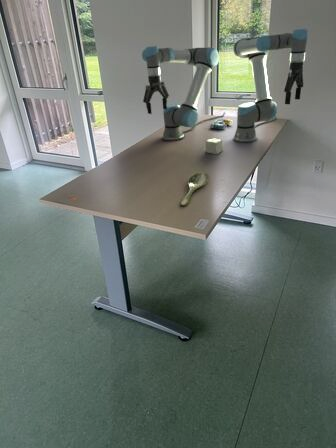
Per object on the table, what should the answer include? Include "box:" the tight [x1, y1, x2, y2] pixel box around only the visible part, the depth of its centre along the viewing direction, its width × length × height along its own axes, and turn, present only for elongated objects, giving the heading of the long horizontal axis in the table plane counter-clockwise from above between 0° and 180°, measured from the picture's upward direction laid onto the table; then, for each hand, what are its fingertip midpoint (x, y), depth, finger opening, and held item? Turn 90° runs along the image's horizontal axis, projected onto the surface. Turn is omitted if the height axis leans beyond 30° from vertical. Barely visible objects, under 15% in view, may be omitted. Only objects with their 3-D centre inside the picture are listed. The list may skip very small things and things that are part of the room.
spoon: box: [180, 171, 210, 207], centre depth 170 cm, size 35×11×2 cm, turn 159°
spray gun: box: [210, 117, 234, 130], centre depth 264 cm, size 21×4×15 cm
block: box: [205, 137, 223, 155], centre depth 215 cm, size 7×8×7 cm
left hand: (157, 111), depth 213 cm, fingers open, 13 cm apart
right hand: (292, 101), depth 195 cm, fingers open, 13 cm apart
